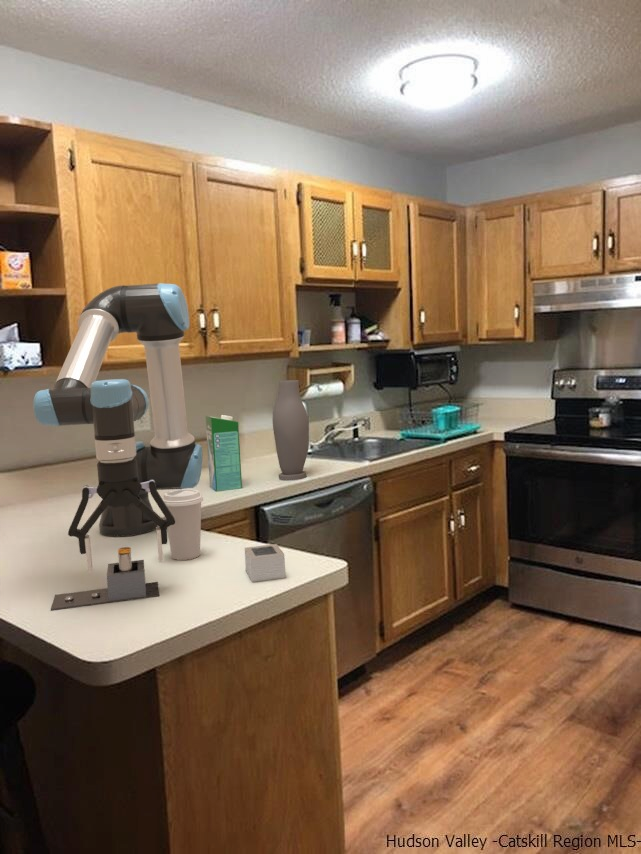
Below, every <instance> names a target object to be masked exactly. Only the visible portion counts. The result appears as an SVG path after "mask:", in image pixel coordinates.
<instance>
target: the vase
mask: <svg viewBox="0 0 641 854" xmlns="http://www.w3.org/2000/svg"><path fill="white" fill-rule="evenodd" d="M307 413H308V412H307V410H306V408H305V405H304V403H303V401H302V399H301V394H300V381H299V379H289V380H288V379H286V380H279V381H278V391H277V395H276V400H275V402H274V406H273V410H272V428H273V429H272V430H273V436H274V442H275V449H276V455H277V459H278V464H279V468H280V471H281V473H278V480H280V481H298V480H303V479H305V478H307V476H308V475H307V471H306V470H304V467H305V465H306V464H305V463H306V461H307V456H308V453H309V448H310V421H309V417H308V414H307Z"/></svg>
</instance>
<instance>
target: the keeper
mask: <svg viewBox="0 0 641 854" xmlns="http://www.w3.org/2000/svg"><path fill="white" fill-rule="evenodd" d="M117 553H118V554H117V556H118V557H117V558H118V563H119V570H120V573H121V572H129V571H132V562H131V561H132V551H131V547H128V546H126V547H120V548H118V549H117ZM155 597H160V590H159V582H158V581H155V582H152V581H151V582H146V596H145V597H137V598H130V599H122V600H114V601H109V598H108V587H105V588H97V589H89V590H82V591H76V592H75V591H74V592H68V593H67V592H66V593H58V594H54V598H53V601H52V604H51V606H50V611H58V610H65V609H72V608H81V607H86V606H87V607H88V606H94V605H95V606H96V605H103V604H110V603H118V602H125V601H133V600H142V599H148V598H155Z"/></svg>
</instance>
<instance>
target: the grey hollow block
mask: <svg viewBox="0 0 641 854" xmlns="http://www.w3.org/2000/svg"><path fill="white" fill-rule="evenodd" d="M131 562H132V571H129V572H121V573H120V570H119V562H114V563H107V571H106V584H107V588H108V598H109V601H114V600H122V599H130V598H137V597H145V596H146V583H147V582H146V571H145V559H137V560H131Z"/></svg>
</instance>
